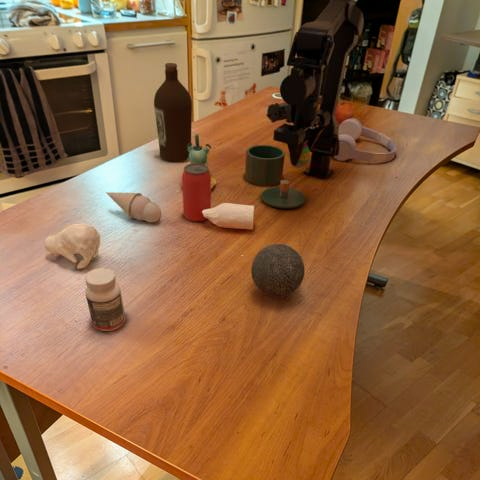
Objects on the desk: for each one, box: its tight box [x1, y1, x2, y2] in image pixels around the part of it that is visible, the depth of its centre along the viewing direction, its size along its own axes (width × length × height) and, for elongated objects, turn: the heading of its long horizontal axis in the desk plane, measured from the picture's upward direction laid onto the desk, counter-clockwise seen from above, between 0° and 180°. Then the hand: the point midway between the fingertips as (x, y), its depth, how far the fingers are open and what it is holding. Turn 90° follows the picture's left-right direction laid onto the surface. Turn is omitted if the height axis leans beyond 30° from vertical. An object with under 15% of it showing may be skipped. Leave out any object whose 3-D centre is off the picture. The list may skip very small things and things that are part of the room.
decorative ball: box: [250, 243, 305, 298], centre depth 87 cm, size 10×10×10 cm
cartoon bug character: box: [180, 133, 217, 189], centre depth 120 cm, size 10×18×15 cm, turn 171°
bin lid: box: [260, 179, 306, 209], centre depth 118 cm, size 11×11×5 cm
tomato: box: [335, 101, 354, 127], centre depth 165 cm, size 9×9×8 cm
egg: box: [288, 144, 311, 169], centre depth 111 cm, size 5×5×6 cm
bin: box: [244, 144, 286, 187], centre depth 128 cm, size 10×10×8 cm
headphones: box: [333, 117, 398, 163], centre depth 147 cm, size 22×7×20 cm
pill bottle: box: [84, 267, 126, 332], centre depth 78 cm, size 6×6×10 cm
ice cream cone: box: [105, 192, 162, 223], centre depth 108 cm, size 6×6×15 cm
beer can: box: [181, 163, 212, 222], centre depth 108 cm, size 7×7×12 cm
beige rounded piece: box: [44, 222, 101, 270], centre depth 93 cm, size 6×8×12 cm
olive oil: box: [153, 62, 193, 163], centre depth 132 cm, size 11×11×25 cm
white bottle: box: [202, 202, 255, 231], centre depth 107 cm, size 6×12×6 cm, turn 85°
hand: (298, 161), depth 113 cm, fingers closed on egg, 5 cm apart
